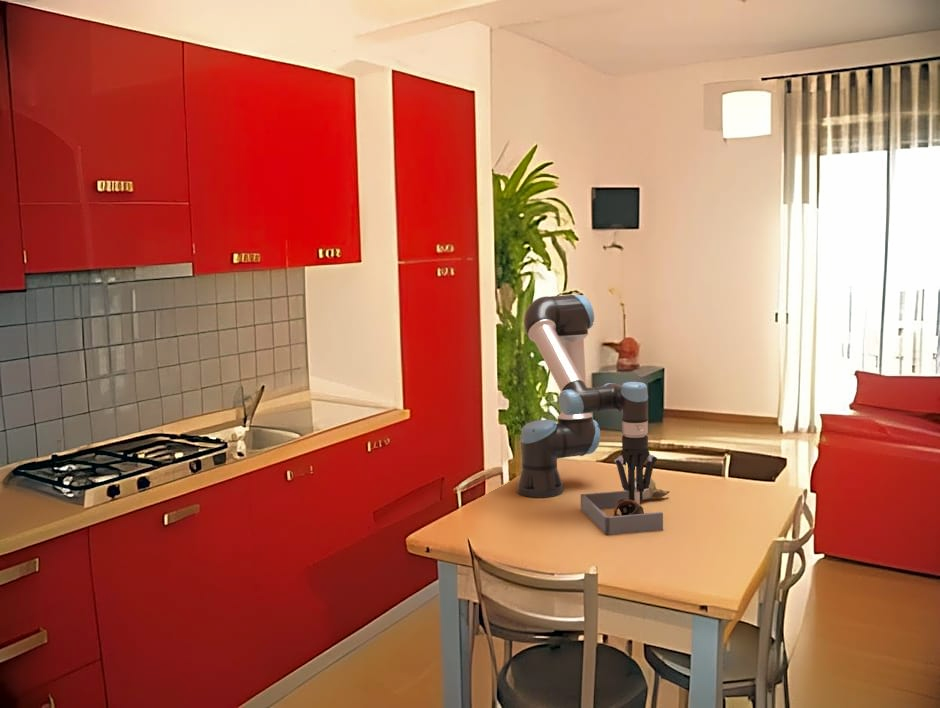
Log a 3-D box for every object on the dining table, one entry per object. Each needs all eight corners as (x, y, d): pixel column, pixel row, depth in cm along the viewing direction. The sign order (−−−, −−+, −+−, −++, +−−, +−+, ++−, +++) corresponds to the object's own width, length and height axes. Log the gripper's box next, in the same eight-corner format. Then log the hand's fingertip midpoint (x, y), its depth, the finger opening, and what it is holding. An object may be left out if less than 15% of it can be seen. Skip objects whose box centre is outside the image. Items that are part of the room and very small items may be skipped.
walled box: (580, 510, 270) (580, 494, 270) (633, 505, 273) (633, 489, 272) (606, 535, 247) (605, 518, 246) (663, 529, 250) (662, 512, 249)
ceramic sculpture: (614, 473, 278) (646, 467, 287) (613, 500, 278) (645, 493, 287) (639, 480, 269) (671, 474, 278) (638, 508, 270) (670, 501, 279)
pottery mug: (655, 527, 253) (646, 507, 249) (627, 544, 252) (619, 524, 248) (635, 506, 264) (626, 486, 260) (608, 522, 263) (599, 502, 259)
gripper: (618, 439, 253) (619, 517, 256) (660, 435, 255) (661, 513, 258) (609, 433, 260) (610, 510, 263) (651, 430, 262) (651, 506, 265)
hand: (635, 512), depth 261 cm, fingers closed
